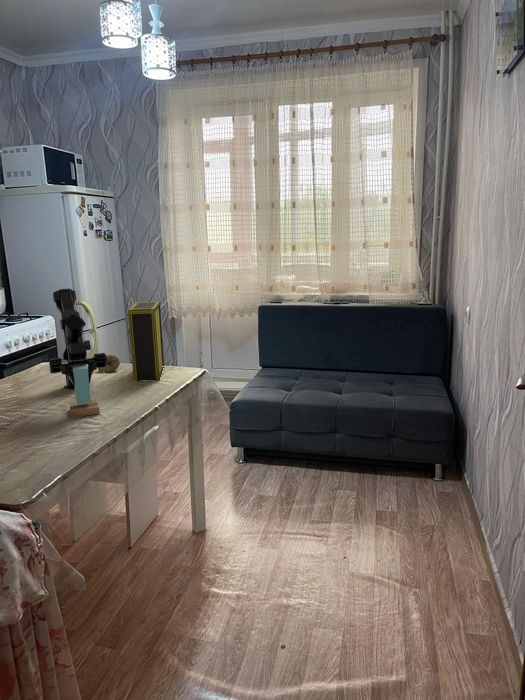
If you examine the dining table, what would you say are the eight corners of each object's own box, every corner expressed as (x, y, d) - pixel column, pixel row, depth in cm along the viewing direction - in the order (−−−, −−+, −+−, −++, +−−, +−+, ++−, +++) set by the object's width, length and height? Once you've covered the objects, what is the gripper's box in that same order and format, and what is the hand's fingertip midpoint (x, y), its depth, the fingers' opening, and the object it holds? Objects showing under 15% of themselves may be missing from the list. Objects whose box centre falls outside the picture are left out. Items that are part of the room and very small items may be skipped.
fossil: (95, 358, 234) (117, 351, 236) (97, 363, 238) (119, 356, 240) (99, 374, 230) (121, 367, 232) (101, 379, 233) (124, 372, 235)
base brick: (69, 410, 186) (69, 403, 185) (96, 406, 189) (95, 399, 189) (72, 418, 178) (71, 411, 177) (99, 414, 181) (99, 407, 181)
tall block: (76, 400, 184) (72, 367, 181) (89, 398, 185) (86, 365, 183) (77, 404, 180) (73, 370, 177) (91, 402, 181) (87, 368, 179)
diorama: (140, 368, 237) (135, 302, 230) (164, 367, 238) (160, 301, 231) (133, 382, 217) (127, 309, 210) (159, 380, 218) (154, 308, 211)
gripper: (46, 335, 177) (51, 375, 170) (103, 330, 184) (111, 368, 177) (47, 353, 186) (53, 392, 179) (102, 347, 193) (109, 384, 186)
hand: (82, 384), depth 180 cm, fingers closed on tall block, 4 cm apart
